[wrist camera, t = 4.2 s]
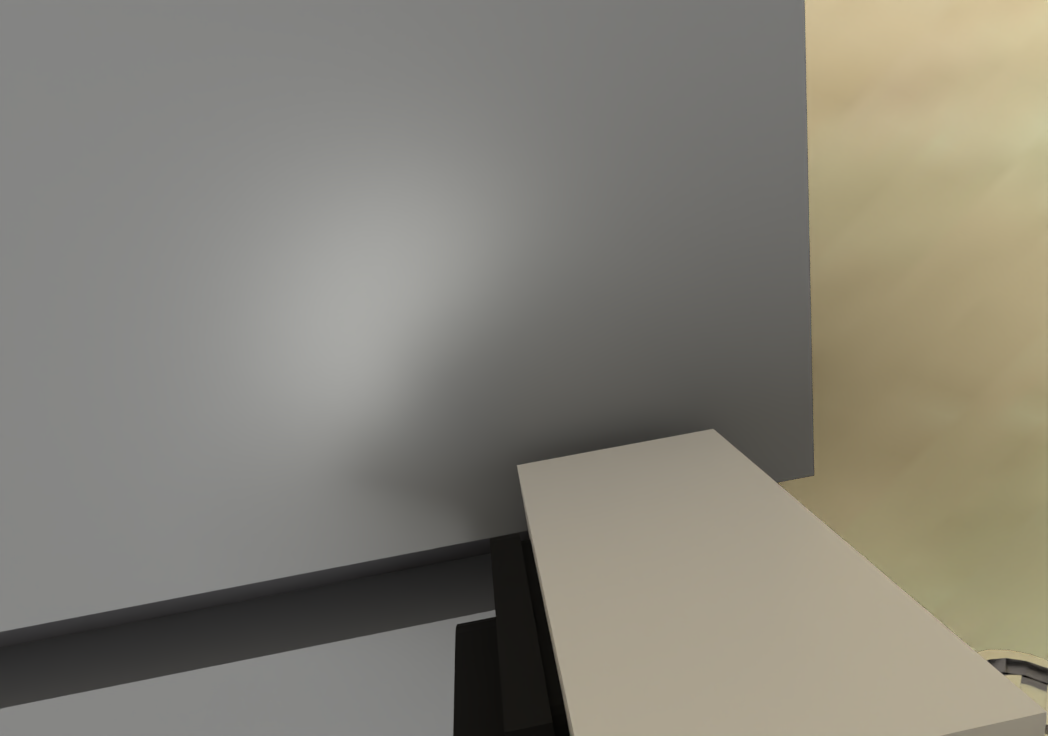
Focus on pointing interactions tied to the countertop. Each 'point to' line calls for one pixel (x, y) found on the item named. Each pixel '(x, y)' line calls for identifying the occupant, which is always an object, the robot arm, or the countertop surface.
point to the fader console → (360, 326)
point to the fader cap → (736, 609)
